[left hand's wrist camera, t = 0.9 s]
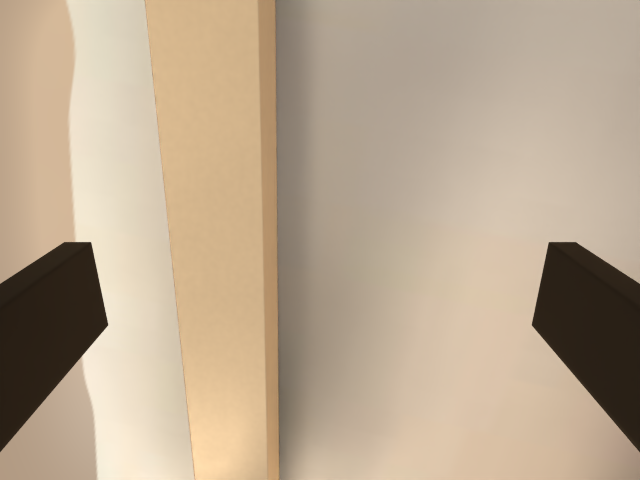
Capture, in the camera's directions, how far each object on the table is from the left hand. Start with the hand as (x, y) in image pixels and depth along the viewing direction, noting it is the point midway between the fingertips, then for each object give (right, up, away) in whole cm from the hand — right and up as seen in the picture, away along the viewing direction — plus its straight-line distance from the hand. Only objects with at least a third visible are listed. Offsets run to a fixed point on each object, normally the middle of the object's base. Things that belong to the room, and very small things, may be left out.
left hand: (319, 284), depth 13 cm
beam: (-6, -13, +24) cm, 28 cm away
